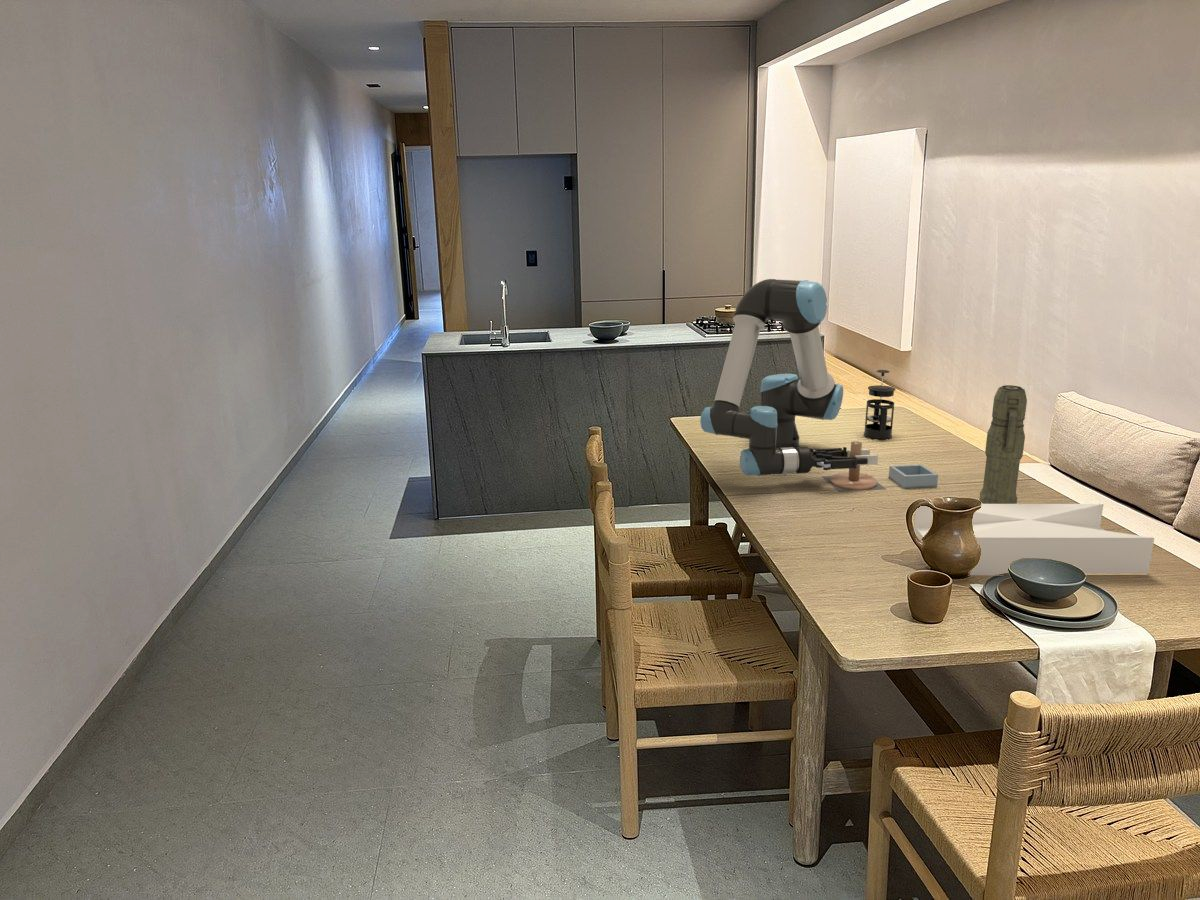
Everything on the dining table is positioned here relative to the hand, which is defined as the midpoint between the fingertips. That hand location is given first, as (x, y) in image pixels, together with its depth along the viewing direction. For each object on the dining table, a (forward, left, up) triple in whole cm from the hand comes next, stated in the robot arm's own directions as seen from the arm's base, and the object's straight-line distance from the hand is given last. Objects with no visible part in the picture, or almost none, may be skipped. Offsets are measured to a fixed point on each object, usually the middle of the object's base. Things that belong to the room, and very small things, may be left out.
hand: (872, 456), depth 265 cm
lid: (0, -5, -8) cm, 9 cm away
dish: (+2, +12, -8) cm, 14 cm away
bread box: (+56, +14, -9) cm, 58 cm away
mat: (0, -5, -8) cm, 10 cm away
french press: (-47, +23, -8) cm, 53 cm away
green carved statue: (+33, +20, -8) cm, 39 cm away
